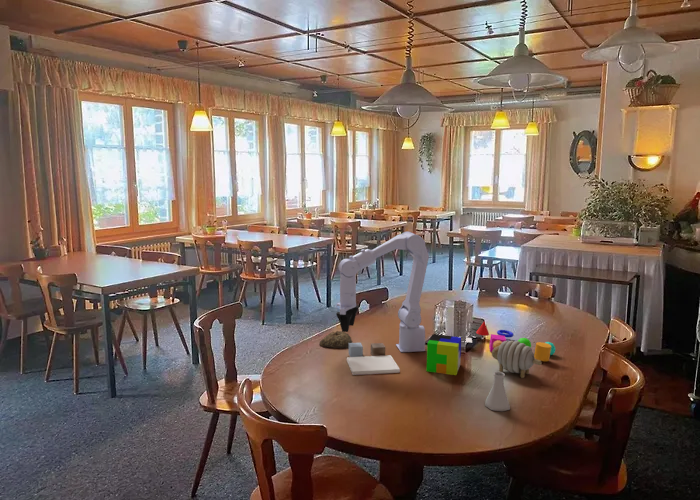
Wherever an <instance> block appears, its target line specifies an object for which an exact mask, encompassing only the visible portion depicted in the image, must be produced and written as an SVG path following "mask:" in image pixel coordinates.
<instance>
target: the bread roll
mask: <svg viewBox="0 0 700 500" xmlns="http://www.w3.org/2000/svg"><path fill="white" fill-rule="evenodd" d="M349 343H353V340H352V337H351V336H350V335H349V334H348V332H342V330H340V331H338V330H336V331H332V332H330V333H329V334H327V335H326V336H324V337H323V338H322V339H321V340H320V342H319V346H320V347H324V348H332V349H347V348H348V349H349Z"/></svg>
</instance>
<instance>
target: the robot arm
mask: <svg viewBox="0 0 700 500" xmlns="http://www.w3.org/2000/svg"><path fill="white" fill-rule="evenodd" d="M395 250H403V251H406V250H407V251H408V253H409V254H410V256H411V257H412V258H413V260H412V261H413V262H412V265H411V270H410V275H409V280H408V284H407V285H408V286H407V290H406V291H407V292H406V295H405V299H404V300H403V301H402V303H401V307H399V310H398V312H397V317H398V318H399V321H400V323H399V328H398V329H399V331H398V332H399V336H398V337H399V339H398V340H399V341H398V343H396V344H395V346H396V347H397V349H398V350H399V351H400V353H412V352H415V353H417V352H425V351H426V329H425V326H424V325H421V322H422V315H421V311H422V308H421V305H420V304H421V303H420V302H421V301H420V300H421V297H422V293H423V292H422V291H423V287H424V283H425V278H426V277H425V276H426V273H427V269H428V268H427V267H428V264H429V263H428V262H429V257H430V256H429V252H428V249H427V246H426V241H425V239H424V238H422V236H420V235H419V234H416V233H413V232H412V231H407V230H406V231H404V232H402V233H400V234H397V235H395V236H394V237H392V238H390V239H389V240H387V241H385V242H384V243H382V244H380V245H378V246H377V247H375V248H373V249H369V248H366V249H365V248H362V249H360V251H359V252H358V253H357V254H355V255H349V256H348V258H343V259H342V260H341V261H340V262H339V263H338V265H337V268H338V271H339V272H340V275H339V277H340V279H339V302H337V303H336V306H338V307H339V311H337V312H336V317H337V318H338V319H337V320H338V321H339V324H340V329H341V331H342V332H345V333H348V332H349V329H350V327H351V326H354V324H355V320H356V315H357V312H358V310H359V307H360V306H359V305H357V299H356V298H357V297H356V296H357V292H356V291H357V285H356V283H357V280H356V277H357V276H356V275H357V274H358V271H361V270H363V269H365V268H367V267H369V266H371V265H373V264H375V262H376V260H377V258H379V257H382V256H383V255H386V254H388V253H390V252H392V251H395Z"/></svg>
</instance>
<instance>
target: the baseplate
mask: <svg viewBox="0 0 700 500" xmlns="http://www.w3.org/2000/svg"><path fill="white" fill-rule="evenodd" d="M346 362H347V365H348V367H349V370H350V372H351V374H352V376H355V375H356V376H358V375H362V376H363V375H375V374H376V375H377V374H381V375H382V374H394V373H397V374H398V373H400V372H401V369H400V367H399V365H398V364H397V363H396V361H395V360H394V358H393V357H392V355H390V354H389V355H387V354H385V356H372V355H370V356H366V355H365V356H364V355H363V357H350V356H349V357H346Z"/></svg>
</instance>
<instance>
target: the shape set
mask: <svg viewBox="0 0 700 500" xmlns="http://www.w3.org/2000/svg"><path fill="white" fill-rule="evenodd" d="M475 333H476V334H477V335H479V336H484V337H486V336H487V337H488V336H490V338H489V344H488V345H489V346H488V348H489V352H491V353H492V351H493V349H494V348H495V347H497V346H499V345H501V343H502V342H504V341H507V338H513V337H514V333H513V332H512V331H510V330H507V329H499V330H497V331H496V334H492V333H491V334H490V332H489V330H488V327H487V324H486V322H485V320H484V321H483V322H482V324H481V325H480V326H479V327H478V329H477V330H476V332H475ZM472 339H473V338H471V337H466V341H465V343H473V340H472ZM517 341H519V342H520V343H524V344H525V345H526V346H529V347H530V348H531V349H532V342H531V341H530V339H528V338H526V337H521V338H519V339H518V340H517ZM556 350H557V349H556V346H555V345H554V343H553V342H550V341H545V342H544V341H541V342H540V341H537V342H536V343H535V348H534V352H533V354H534V357H535V359H536V360H540V361H541V362H549V361H550V357H551V356H552V355H554V354H556V353H555V352H556Z"/></svg>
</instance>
